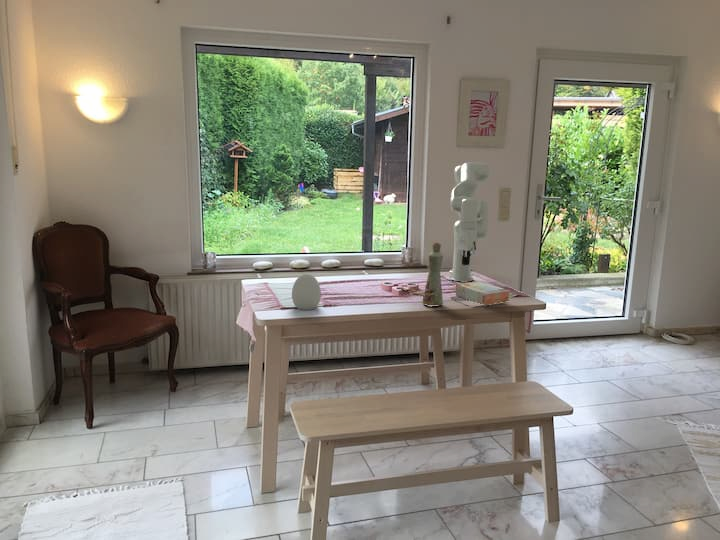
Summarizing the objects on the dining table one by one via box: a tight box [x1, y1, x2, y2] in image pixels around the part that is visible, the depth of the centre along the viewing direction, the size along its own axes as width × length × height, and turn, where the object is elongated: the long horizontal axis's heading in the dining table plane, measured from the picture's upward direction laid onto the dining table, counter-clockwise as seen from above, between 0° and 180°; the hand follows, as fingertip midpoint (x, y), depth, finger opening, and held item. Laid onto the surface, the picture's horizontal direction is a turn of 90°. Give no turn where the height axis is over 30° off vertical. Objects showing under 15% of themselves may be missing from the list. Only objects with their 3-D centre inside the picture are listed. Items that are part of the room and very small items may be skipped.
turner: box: [410, 288, 425, 297], centre depth 283 cm, size 16×5×1 cm, turn 48°
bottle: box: [421, 242, 444, 306], centre depth 260 cm, size 9×9×28 cm
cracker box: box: [455, 280, 510, 305], centre depth 272 cm, size 14×6×21 cm
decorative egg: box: [291, 272, 322, 311], centre depth 252 cm, size 12×12×15 cm
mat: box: [450, 296, 469, 301], centre depth 272 cm, size 16×18×1 cm
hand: (465, 264), depth 277 cm, fingers closed
